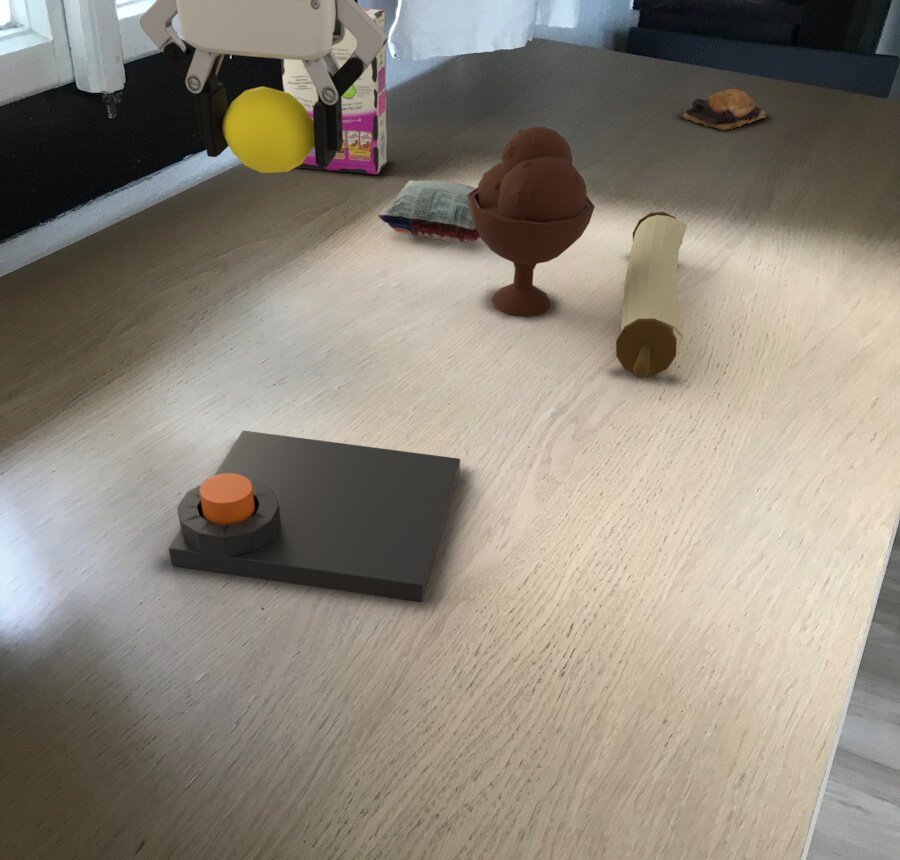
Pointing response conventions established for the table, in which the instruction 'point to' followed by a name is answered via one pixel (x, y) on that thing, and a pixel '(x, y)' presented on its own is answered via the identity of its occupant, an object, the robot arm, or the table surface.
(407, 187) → the packaged food
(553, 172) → the ice cream bowl
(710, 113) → the chocolate marshmallow cracker
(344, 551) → the scale
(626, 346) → the scroll
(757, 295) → the table surface
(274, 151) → the lemon
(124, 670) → the table surface
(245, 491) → the tare button
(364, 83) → the candy bar box
